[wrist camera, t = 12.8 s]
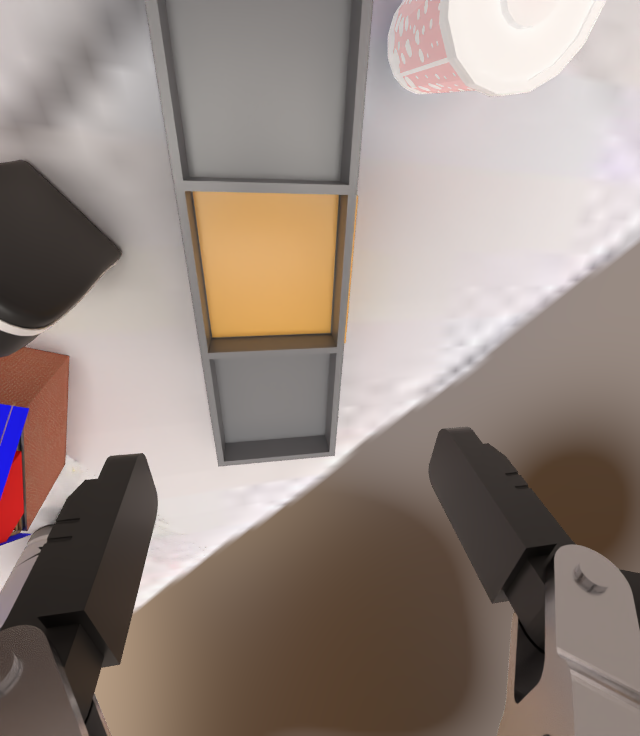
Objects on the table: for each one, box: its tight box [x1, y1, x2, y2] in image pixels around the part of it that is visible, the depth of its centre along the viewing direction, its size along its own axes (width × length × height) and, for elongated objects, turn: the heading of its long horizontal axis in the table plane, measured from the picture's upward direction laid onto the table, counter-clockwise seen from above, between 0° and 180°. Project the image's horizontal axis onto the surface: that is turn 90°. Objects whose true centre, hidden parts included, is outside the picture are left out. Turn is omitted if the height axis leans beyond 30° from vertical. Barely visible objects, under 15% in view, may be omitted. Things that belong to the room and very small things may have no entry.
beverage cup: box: [388, 0, 606, 97], centre depth 14 cm, size 6×6×14 cm
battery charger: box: [0, 160, 121, 357], centre depth 17 cm, size 7×4×11 cm, turn 35°
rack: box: [145, 0, 373, 466], centre depth 24 cm, size 32×10×3 cm, turn 178°
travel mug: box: [0, 525, 53, 628], centre depth 28 cm, size 6×7×20 cm
